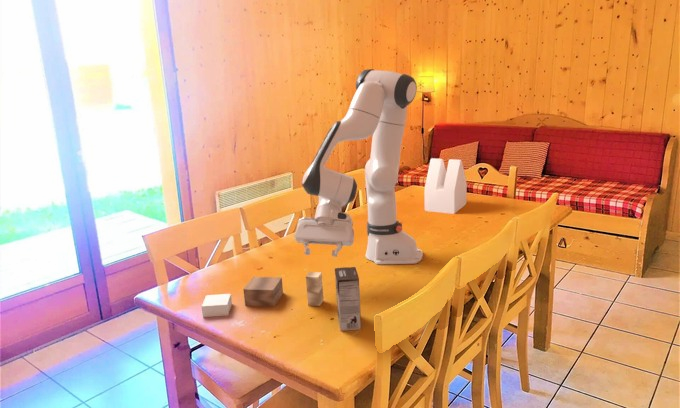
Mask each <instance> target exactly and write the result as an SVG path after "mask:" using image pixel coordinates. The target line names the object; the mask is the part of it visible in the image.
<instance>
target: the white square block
mask: <svg viewBox="0 0 680 408" xmlns="http://www.w3.org/2000/svg"><path fill="white" fill-rule="evenodd" d="M232 300H233V299H232V294H231V293H222V294H221V293H219V294H207V295H205V298H204V300H203V302H202V304H201V313H202V318H208V317H210V318H211V317H221V316H229V315H230V312H231V308H232V306H233V301H232Z"/></svg>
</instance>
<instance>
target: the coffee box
mask: <svg viewBox="0 0 680 408" xmlns="http://www.w3.org/2000/svg"><path fill="white" fill-rule="evenodd" d="M334 275H335V291H336V308H337V320H338V324H339V329H340V331H341V332H342V331H355V330H361V329H362V322H361V320H362V318H361V314H362V313H361V293H360V292H361V291H360V290H361V289H360V277H359V274H358V271H357V268H356V266H351V267H344V266H343V267H337V268H335V267H334Z"/></svg>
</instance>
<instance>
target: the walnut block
mask: <svg viewBox="0 0 680 408" xmlns="http://www.w3.org/2000/svg"><path fill="white" fill-rule="evenodd" d="M283 294H284V288H283V278H282V277H278V276H277V277H274V276H272V277H271V276H270V277H269V276H253V277H252V278H251V279H250V280H249V282H248V283H247V284H246V285H245V286H244V288H243V298H244V306H245V307H248V306H249V307H276V305H277V303H279V301H280V299H281V298H282V296H283Z"/></svg>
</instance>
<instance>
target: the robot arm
mask: <svg viewBox="0 0 680 408" xmlns="http://www.w3.org/2000/svg"><path fill="white" fill-rule="evenodd" d="M417 87H418V86H417V82H416V80H415V77H412V76H410V75H408V74H405V73H403V74H402V73H400V72H395V71H391V70H379V69H378V70H377V69H376V70H375V69H373V68H369V69H364V70H363V71H361V72H360V73H359V74H358V76H357V78H356V82H355V89H356V91H355V93H354V94H353V97H352V100H351V102H350V104H349V106H348V110H347V112H346V114H345V115H344V117H343V118H342V119H341V120H338V121H335V122H334V123H333V124H332V126H331V127H330V128H329V130H328V132H327V134H326V135H325V137H324V139H323V141H322V143H321V145H320V147H318V148H319V149H318V151H317V152H316V154H315V155H314V158H313V160H312V161H311V163H310V165H309V166H308V167H307V169H306V170H305V172H304V174H303V176H302V181H301V185H302V187H303V189H304V191H305V192H306V194H308V195H310V196H316V197H318V204H317V206H316V209H315V210H316V211H315V214H314V217H307V216H306V217H304V216H303V217H302V218H299V219H298V220H297V225H296V229H295V232H294V235H293V236H294V240H295V241H296V242H297V243H298V244H302V245H303V247H304V255H305V256H310V255H311V252H312V251H311V249H310V248H308V247H309V245H310V244H314V245H325V246H326V245H330V246H337V247H336V248H335V249H334V250H333V249H332V250H331V251H332V253H331V257H332V258H333V257H334V258H336V257H338V254H339V252H341V250H342V248H343V246H344V247H351V246H352V245H353V244H354V241H355V240H354V239H355V231H354V228H353V227H354V222H353V219H352V216H351V215H350V214H349V213H345V212H342V208H343V207H344V206H347V205H348V204H350V203H352V202H354V200H355V198H356V195H357V191H358V184H357V182H356V181H357V180H356V179H355V177H353V176H350V175H347V174H344V173H342V172H339V171H337V170H332V169H329V168H327V167H326V164H327V163H328V160H329V158H330V157H331V155H332V152H333V151H334V148H336V146H337V145H338V144H339V143H342V142H345V141H362V140H365V139H368V138H370V137H372V138H371V139H372V140H371V148H370V158H369V159H368V160H367V161H366V164H365V165H364V166H365V167H364V176H365V177H364V178H365V189H366V200H367V201H366V203H367V222H366V233H367V247H366V252H365V258H366V259H367V260H369V261H371V262H374V263H375V264H376V265H410V264H413V265H414V264H417V263H420V262H421V260H423V258H424V257H423V256H424V252H423V250H422V249H420V248H418V246H417V243H416V240H415V238H414V237H412V236H411V235H410V234H408V232H406V231H404V230H403V222H402V221H398V220H397V199H396V190H395V186H396V185H397V182H398V176H399V171H400V160H401V149H402V142H403V137H404V132H405V127H406V122H407V114H408V106H409V105H410V104H411V103H412V102H413V101H414V100H415V97H416V95H417Z"/></svg>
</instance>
